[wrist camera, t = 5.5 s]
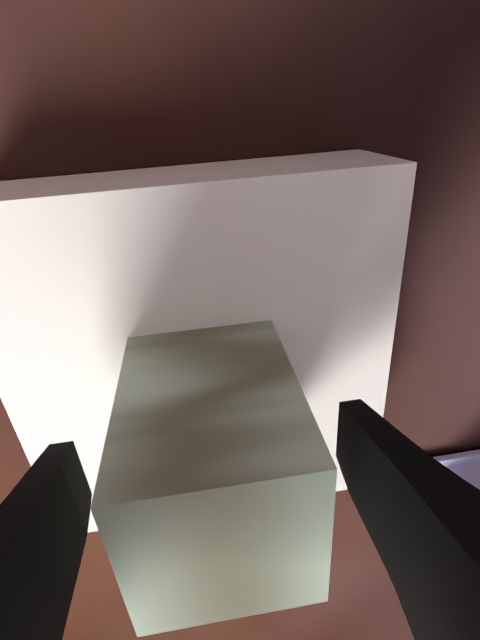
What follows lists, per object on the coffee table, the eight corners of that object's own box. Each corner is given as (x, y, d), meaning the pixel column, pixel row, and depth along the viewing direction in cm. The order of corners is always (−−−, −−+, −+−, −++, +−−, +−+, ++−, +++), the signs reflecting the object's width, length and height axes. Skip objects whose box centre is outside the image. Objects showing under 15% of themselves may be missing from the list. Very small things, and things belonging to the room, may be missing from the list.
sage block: (271, 320, 13) (337, 469, 7) (274, 426, 15) (327, 601, 10) (127, 337, 12) (89, 508, 7) (152, 444, 14) (137, 637, 9)
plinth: (359, 149, 15) (416, 162, 11) (340, 421, 21) (373, 485, 17) (-16, 182, 13) (-84, 208, 10) (83, 459, 20) (62, 536, 16)
